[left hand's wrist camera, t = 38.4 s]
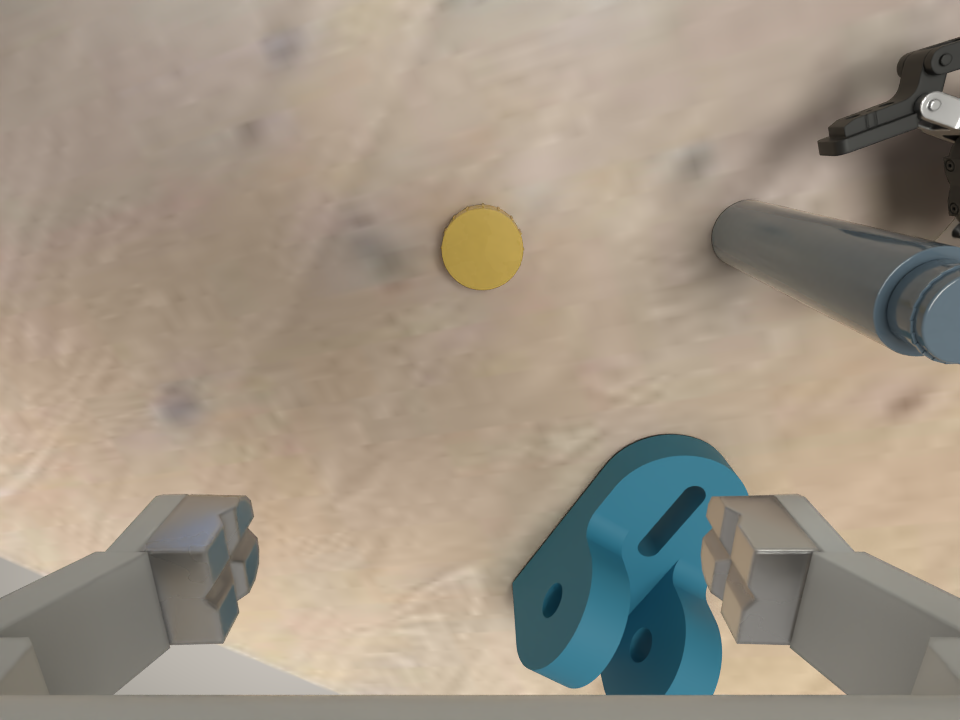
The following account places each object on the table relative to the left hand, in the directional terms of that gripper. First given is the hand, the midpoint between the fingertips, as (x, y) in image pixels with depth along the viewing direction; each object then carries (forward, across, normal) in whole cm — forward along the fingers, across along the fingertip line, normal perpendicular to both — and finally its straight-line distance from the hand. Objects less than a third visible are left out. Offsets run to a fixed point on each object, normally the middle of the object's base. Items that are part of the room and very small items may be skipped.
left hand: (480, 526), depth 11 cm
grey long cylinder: (+29, +17, +1) cm, 34 cm away
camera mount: (+29, +12, -22) cm, 38 cm away
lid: (+28, 0, 0) cm, 28 cm away
